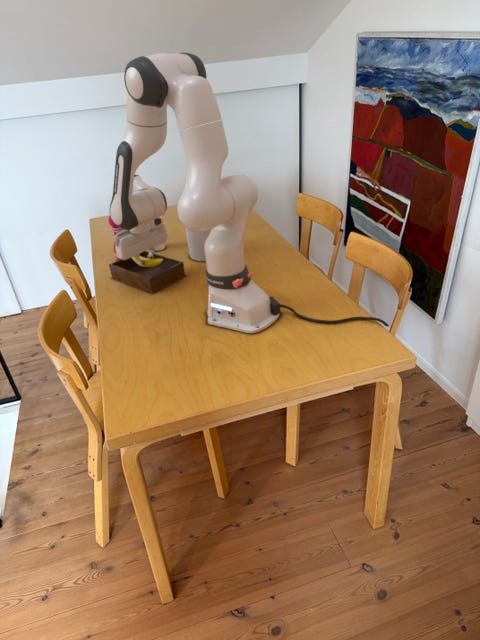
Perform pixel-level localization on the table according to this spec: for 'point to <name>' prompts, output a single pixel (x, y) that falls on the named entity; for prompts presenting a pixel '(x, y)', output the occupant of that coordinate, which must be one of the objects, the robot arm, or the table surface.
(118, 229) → the pepper mill
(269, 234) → the table surface
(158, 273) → the tray
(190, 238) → the utensil holder
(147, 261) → the banana
